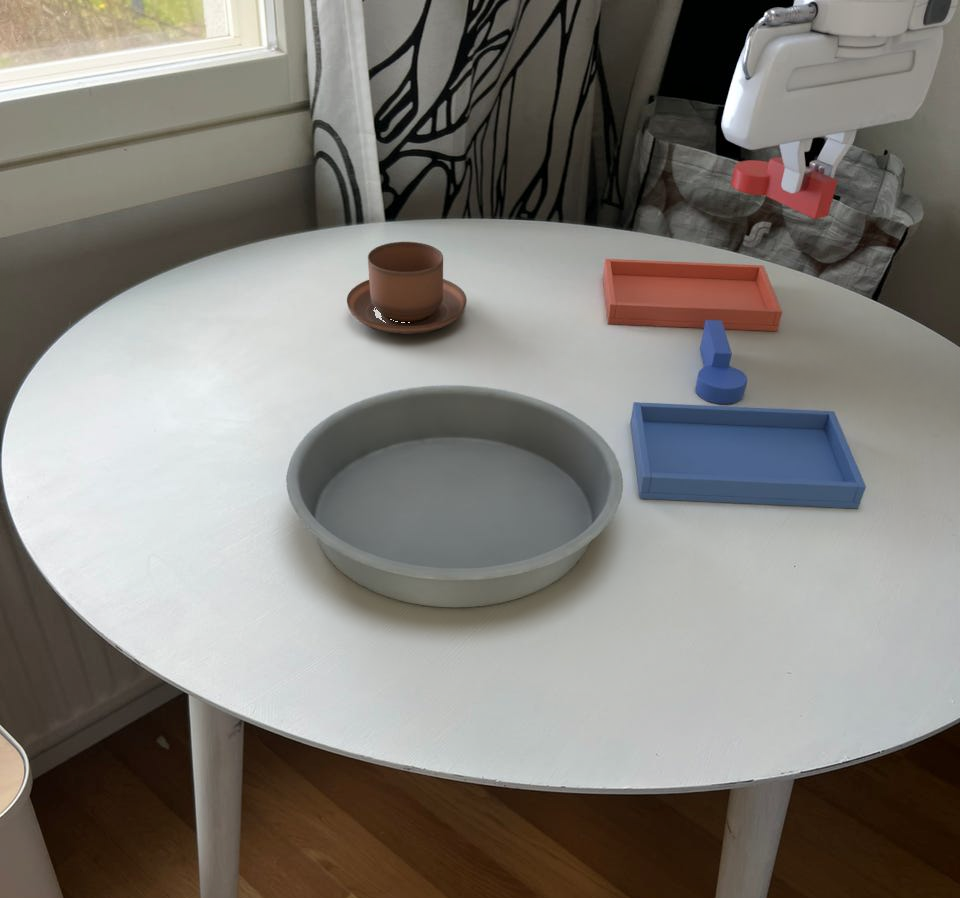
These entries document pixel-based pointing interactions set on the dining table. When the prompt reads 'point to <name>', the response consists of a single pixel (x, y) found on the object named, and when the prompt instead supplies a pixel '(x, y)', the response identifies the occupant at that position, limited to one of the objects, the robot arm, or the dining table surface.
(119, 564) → the dining table surface
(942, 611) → the dining table surface
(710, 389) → the blue lever handle
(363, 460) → the cake pan
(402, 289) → the cup and saucer
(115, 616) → the dining table surface
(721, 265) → the tray red
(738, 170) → the red lever handle
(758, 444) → the tray blue
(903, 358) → the dining table surface
